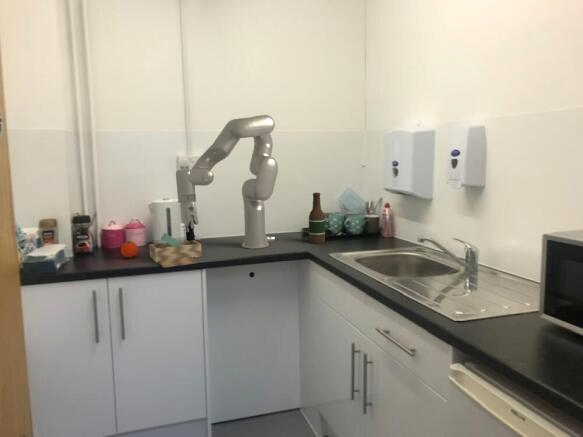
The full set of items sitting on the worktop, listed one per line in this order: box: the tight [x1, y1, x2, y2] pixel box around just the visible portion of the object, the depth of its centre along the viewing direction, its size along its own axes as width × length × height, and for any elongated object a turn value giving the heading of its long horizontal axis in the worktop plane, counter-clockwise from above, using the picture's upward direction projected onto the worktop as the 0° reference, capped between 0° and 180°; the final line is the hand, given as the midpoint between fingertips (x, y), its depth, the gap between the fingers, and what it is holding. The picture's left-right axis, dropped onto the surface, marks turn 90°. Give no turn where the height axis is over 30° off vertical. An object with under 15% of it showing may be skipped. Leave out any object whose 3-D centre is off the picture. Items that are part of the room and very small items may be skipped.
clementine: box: [120, 241, 139, 259], centre depth 200 cm, size 8×7×7 cm
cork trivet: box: [157, 257, 199, 268], centre depth 189 cm, size 14×9×1 cm, turn 119°
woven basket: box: [148, 240, 203, 263], centre depth 200 cm, size 19×12×6 cm, turn 119°
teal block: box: [160, 232, 183, 247], centre depth 199 cm, size 12×4×3 cm
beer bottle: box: [308, 192, 326, 245], centre depth 224 cm, size 8×8×24 cm
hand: (190, 240), depth 202 cm, fingers closed
